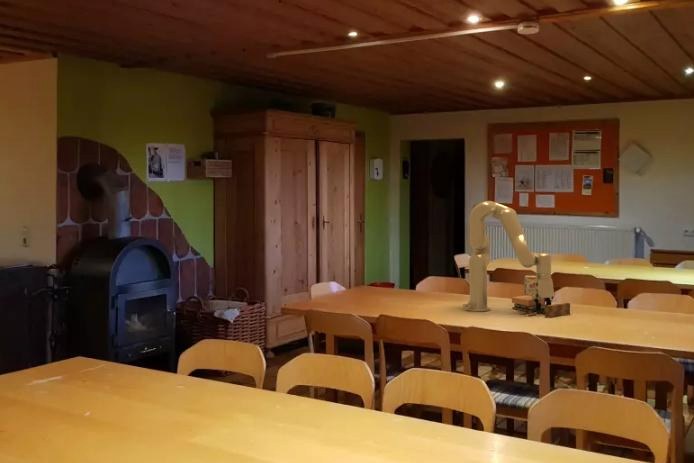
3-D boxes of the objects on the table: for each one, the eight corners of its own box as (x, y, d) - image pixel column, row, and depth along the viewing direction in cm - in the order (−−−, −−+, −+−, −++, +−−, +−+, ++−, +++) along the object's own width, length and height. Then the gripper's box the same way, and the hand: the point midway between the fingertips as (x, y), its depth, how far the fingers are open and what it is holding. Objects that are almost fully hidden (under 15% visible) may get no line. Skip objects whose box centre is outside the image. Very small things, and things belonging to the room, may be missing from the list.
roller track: (545, 315, 374) (545, 309, 374) (512, 308, 396) (512, 302, 396) (558, 313, 379) (558, 307, 379) (524, 306, 401) (524, 300, 401)
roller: (540, 310, 379) (539, 304, 380) (536, 312, 382) (534, 306, 383) (550, 309, 382) (548, 303, 383) (546, 311, 385) (544, 305, 386)
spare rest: (528, 316, 373) (528, 315, 373) (520, 314, 378) (520, 313, 378) (536, 315, 375) (536, 314, 375) (527, 313, 381) (527, 312, 381)
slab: (528, 306, 384) (528, 300, 384) (511, 302, 395) (511, 297, 395) (543, 303, 389) (543, 298, 389) (526, 300, 401) (526, 295, 400)
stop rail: (547, 317, 369) (547, 306, 368) (545, 317, 370) (545, 305, 370) (570, 314, 376) (570, 303, 376) (567, 313, 378) (567, 302, 378)
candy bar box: (525, 305, 405) (525, 276, 404) (524, 303, 410) (524, 275, 409) (545, 305, 404) (545, 276, 403) (543, 304, 409) (544, 275, 408)
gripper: (536, 278, 373) (536, 312, 374) (560, 275, 382) (560, 309, 383) (526, 276, 380) (526, 310, 381) (550, 274, 388) (550, 306, 389)
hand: (543, 309), depth 382 cm, fingers closed on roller, 6 cm apart
